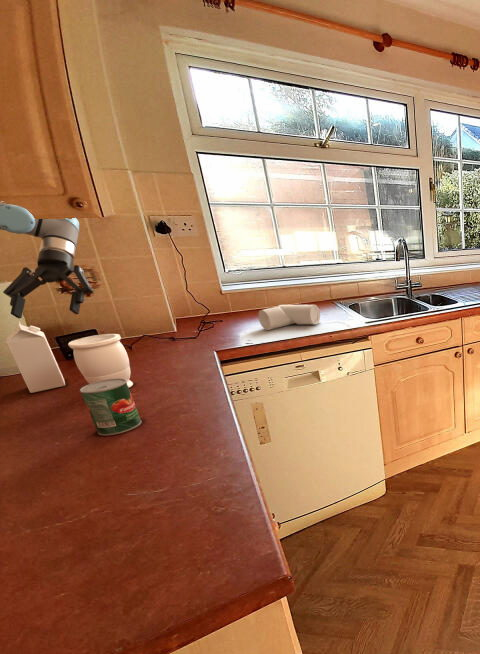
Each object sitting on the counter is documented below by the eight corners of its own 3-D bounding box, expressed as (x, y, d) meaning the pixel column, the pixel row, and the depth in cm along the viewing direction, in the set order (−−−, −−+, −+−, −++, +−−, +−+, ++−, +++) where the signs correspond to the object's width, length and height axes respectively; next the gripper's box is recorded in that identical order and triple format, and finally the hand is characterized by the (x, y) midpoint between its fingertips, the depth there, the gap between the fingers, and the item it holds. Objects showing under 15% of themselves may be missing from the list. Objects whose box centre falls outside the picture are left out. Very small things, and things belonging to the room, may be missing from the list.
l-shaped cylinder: (301, 314, 193) (257, 324, 177) (299, 292, 188) (254, 301, 173) (326, 328, 186) (283, 340, 170) (325, 305, 181) (281, 316, 165)
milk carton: (30, 393, 118) (-1, 328, 111) (30, 386, 123) (0, 323, 116) (65, 386, 123) (38, 323, 116) (64, 379, 127) (37, 318, 120)
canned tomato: (100, 425, 101) (82, 383, 97) (142, 416, 105) (127, 375, 101) (95, 439, 95) (76, 395, 91) (141, 428, 99) (124, 386, 95)
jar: (123, 379, 127) (105, 331, 121) (146, 384, 124) (128, 335, 118) (80, 394, 118) (58, 342, 112) (103, 399, 114) (82, 346, 109)
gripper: (112, 261, 140) (105, 316, 132) (15, 265, 132) (1, 324, 125) (97, 246, 133) (88, 303, 125) (-6, 250, 126) (-22, 310, 118)
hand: (45, 314), depth 125 cm, fingers open, 13 cm apart
